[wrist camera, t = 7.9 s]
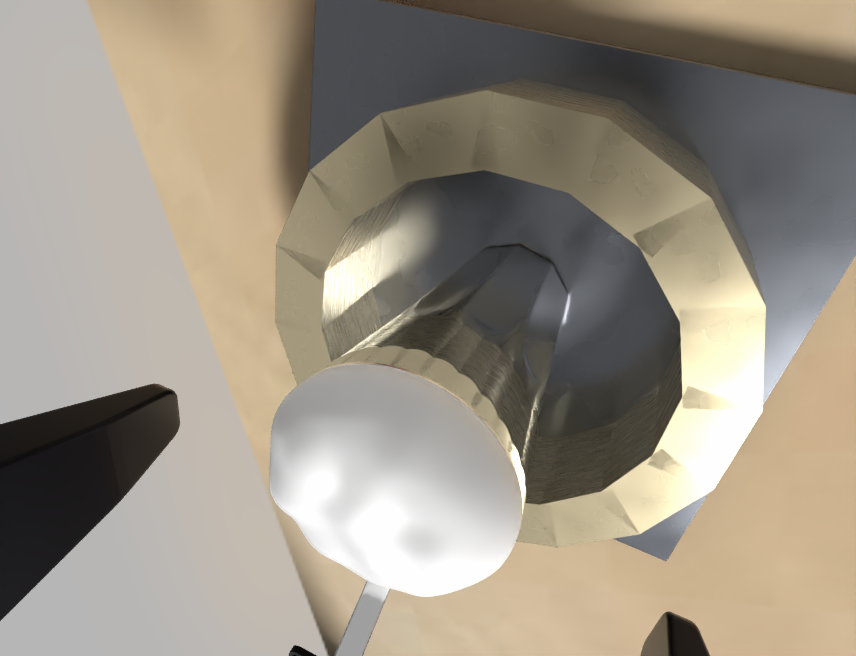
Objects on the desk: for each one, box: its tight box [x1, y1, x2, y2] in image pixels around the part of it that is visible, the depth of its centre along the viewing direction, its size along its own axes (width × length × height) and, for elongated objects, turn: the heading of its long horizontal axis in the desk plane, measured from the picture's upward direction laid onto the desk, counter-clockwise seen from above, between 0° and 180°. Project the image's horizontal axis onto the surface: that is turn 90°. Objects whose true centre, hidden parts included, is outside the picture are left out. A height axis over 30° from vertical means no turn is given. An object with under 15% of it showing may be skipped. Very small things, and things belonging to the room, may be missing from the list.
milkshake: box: [269, 245, 568, 656], centre depth 12 cm, size 4×5×10 cm
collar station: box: [275, 0, 856, 561], centre depth 15 cm, size 14×14×4 cm
